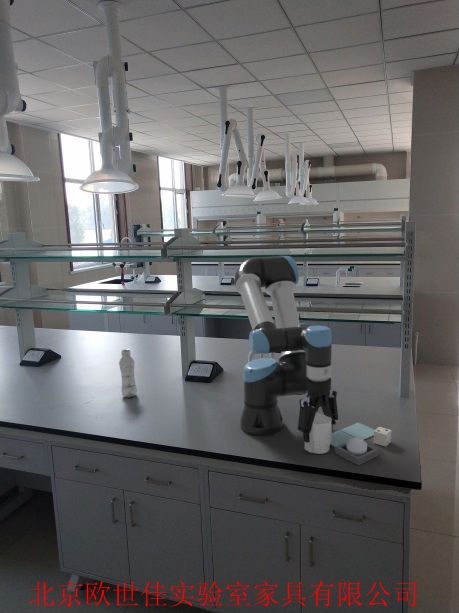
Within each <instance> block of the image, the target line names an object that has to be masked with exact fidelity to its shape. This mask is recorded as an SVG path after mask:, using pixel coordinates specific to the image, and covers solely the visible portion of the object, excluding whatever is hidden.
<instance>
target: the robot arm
mask: <svg viewBox="0 0 459 613" xmlns="http://www.w3.org/2000/svg"><path fill="white" fill-rule="evenodd" d="M299 278H300V275H299V268H298V265H297V262H296V260H295V259H294V258H293V257H292V256H290V255H289V256H288V255H278V256H276V255H275V256H262V257H261V256H259V257H255V256H254V257H251V258H247V259H246V260H244V261H243V262H242V263H241V264H240V265H239V266H238V268H237V269H236V271H235V274H234V280H233V282H234V287H235V290H236V291H237V293H238V294H240V296H241V299H242V303H243V305H244V308H245V311H246V314H247V315H246V316H247V317H248V320H249V324H250V326H251V329H252V330H251V331H250V332H249V335H248V342H249V348H250V350H251V352H252V353H253V354H254V355H255V354H256V355H257V354H259V355H260V354H261V355H266V354H271V353H272V354H273V353H281V355H280V356H279V357H278V362H277V359H275V358H271V357H269V358H267V357H261V358H256V359H253V360H251V361H249V362H248V363H246V364H245V365H244V366H243V371H242V383H243V408H242V411H241V415H240V418H239V427H240V429H241V430H242V431H243V432H245V433H246V434H248V435H253V436H254V435H255V436H269V435H274V434H276V433H278V432H280V431H281V430H282V429H283V428H284V418H283V416H282V413H281V411H280V408H279V405H278V404H279V403H278V402H279V401H278V400H279V399H278V398H279V397H285V396H286V397H288V396H297V395H298V396H299V395H306V398H304V399H302V398H300V399H299V401H298V404H299V415H298V421H297V422H298V423H297V431H299V432H301V433H302V436H303V438H302V439H303V442H304V450H305V451H307V452H308V453H310V454H313V432H311V428H312V424H313V421H314V418H315V414H316V413H318V412H319V408H321V410H322V414H324V415H325V416H327V417H331V419H332V422H331V437H330V444H332V433H334V432H333V431H334V426H335V425H336V423H337V421H338V420H339V412H338V402H337V396H338V391H336V390H333V389H332V378H331V377H332V345H333V344H332V342H333V339H332V337H333V336H332V330H331V328H330V327H328V326H325V325H320V324H319V325H310V324H307V323H305V322H302V323H301V322H300V319H299V314H298V308H297V303H296V301H295V300H296V299H295V295H294V290H295V289H296V286H297V284H298V283H299V281H300V280H299ZM262 288H264V289H265V293H266V294H267V295H269V296H270V299H271V306H272V310H273V315H274V318H273V316H272V313H271V311H270V308H269V306H268V303H267V301H266V299H265V296H264V293H263V291H262ZM274 320H275V321H274Z"/></svg>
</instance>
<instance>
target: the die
mask: <svg viewBox="0 0 459 613" xmlns="http://www.w3.org/2000/svg"><path fill="white" fill-rule="evenodd" d="M374 430H375V431H374V436H373V444H377V445H380V446H382V447H385V448H386V447H387V446H388V445H390V443H391V442H392V429H388V428H385V427H381V426H378V427H377V428H376V429H374Z"/></svg>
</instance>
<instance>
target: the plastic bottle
mask: <svg viewBox="0 0 459 613" xmlns="http://www.w3.org/2000/svg"><path fill="white" fill-rule="evenodd" d="M120 356H121V358H120V359H119V362H118V367H119V369H120V375H121V389H120V390H121V395H122V397H124V398H132V397H133V398H134V397H135V396H136V395H137V393H138V387H137V384H136V379H135V360H134V358H133V357H132V356H131V349H129V348H128V349H122V350H121V355H120Z"/></svg>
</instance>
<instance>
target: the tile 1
mask: <svg viewBox="0 0 459 613" xmlns="http://www.w3.org/2000/svg"><path fill="white" fill-rule="evenodd" d="M340 430H341V429H339V430H337V431H335V432H332V444H330V446H332V447H334V448H335V447H336V446H338V445H341V444H343V443H345V442H347V441H348V440H349V439H352V438H354V437H352V436H350V435H348V434H346V433H344V432H342V431H340Z"/></svg>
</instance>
